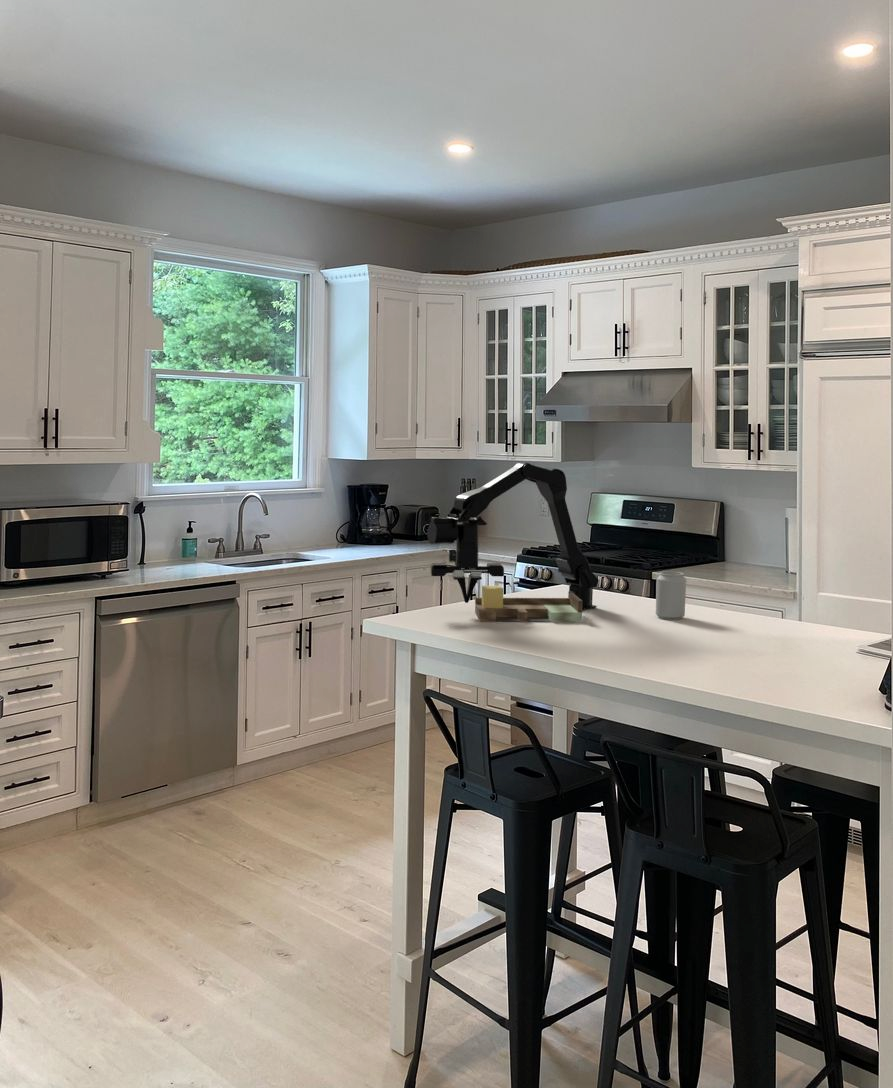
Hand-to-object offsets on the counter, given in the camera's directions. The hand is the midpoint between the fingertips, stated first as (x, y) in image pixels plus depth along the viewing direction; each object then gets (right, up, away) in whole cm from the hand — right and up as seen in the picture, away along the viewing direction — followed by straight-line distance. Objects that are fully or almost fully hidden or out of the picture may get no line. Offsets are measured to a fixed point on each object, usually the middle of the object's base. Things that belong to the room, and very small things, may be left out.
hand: (466, 602), depth 255 cm
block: (+7, -1, +1) cm, 7 cm away
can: (+54, -4, +2) cm, 54 cm away
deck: (+16, -4, 0) cm, 16 cm away
